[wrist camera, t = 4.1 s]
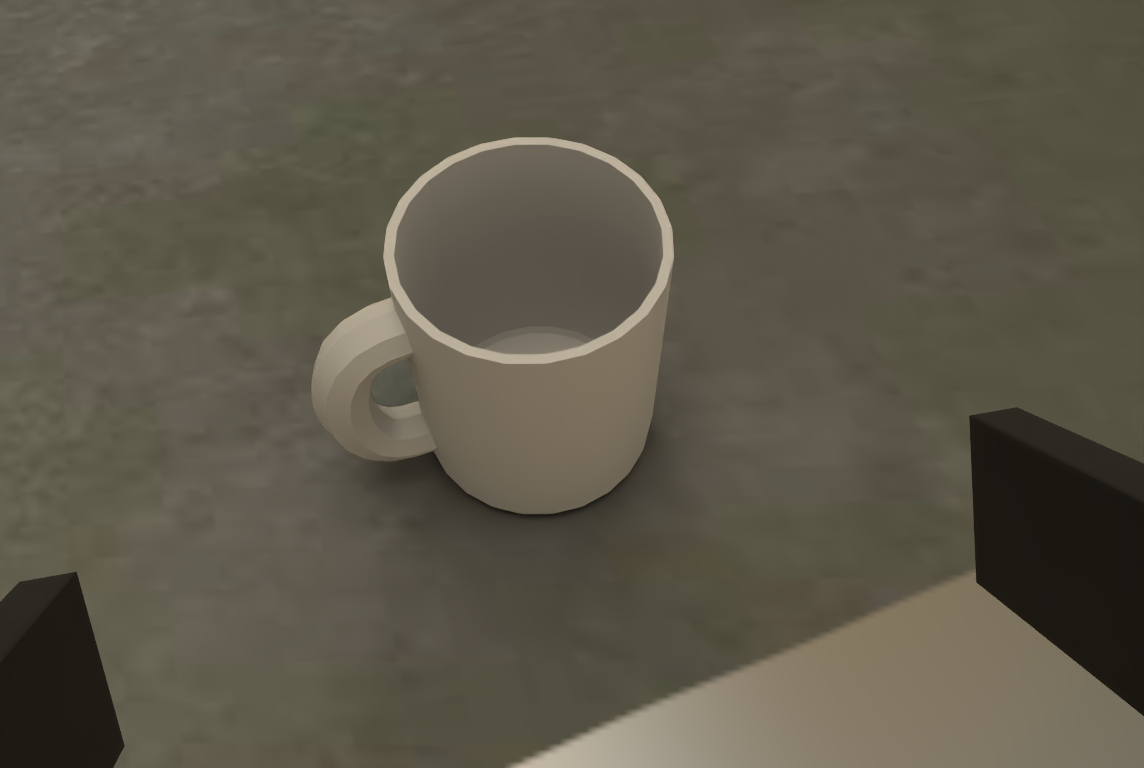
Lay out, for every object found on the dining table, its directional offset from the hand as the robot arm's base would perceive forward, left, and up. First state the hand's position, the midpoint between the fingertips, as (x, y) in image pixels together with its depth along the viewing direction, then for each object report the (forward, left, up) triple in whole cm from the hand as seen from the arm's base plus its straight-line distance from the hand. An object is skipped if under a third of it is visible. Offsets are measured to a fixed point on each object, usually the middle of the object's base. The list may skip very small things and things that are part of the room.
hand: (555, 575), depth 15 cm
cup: (+10, +2, -15) cm, 18 cm away
